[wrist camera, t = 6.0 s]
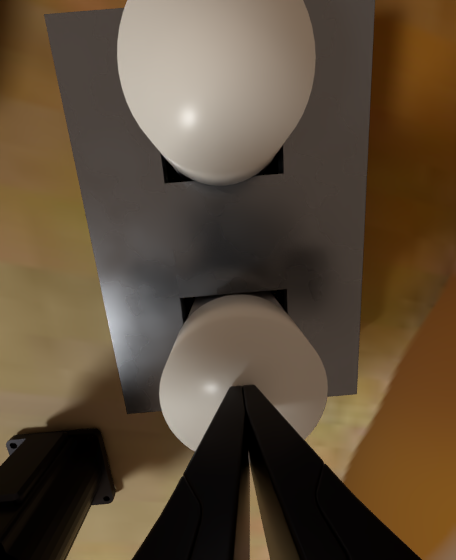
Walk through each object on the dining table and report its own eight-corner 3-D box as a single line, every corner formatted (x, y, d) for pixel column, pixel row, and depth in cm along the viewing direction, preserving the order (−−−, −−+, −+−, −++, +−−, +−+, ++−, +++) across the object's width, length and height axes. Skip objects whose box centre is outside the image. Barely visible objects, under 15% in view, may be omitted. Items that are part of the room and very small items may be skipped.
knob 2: (282, 359, 15) (326, 456, 8) (193, 367, 15) (171, 470, 8) (280, 271, 13) (329, 309, 7) (182, 280, 13) (146, 325, 7)
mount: (324, 353, 16) (356, 394, 12) (150, 368, 16) (127, 414, 12) (327, 63, 12) (375, -13, 8) (100, 82, 12) (44, 14, 8)
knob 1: (272, 193, 13) (315, 163, 7) (175, 201, 13) (135, 178, 7) (268, 79, 12) (315, -72, 6) (161, 88, 12) (98, -54, 6)
